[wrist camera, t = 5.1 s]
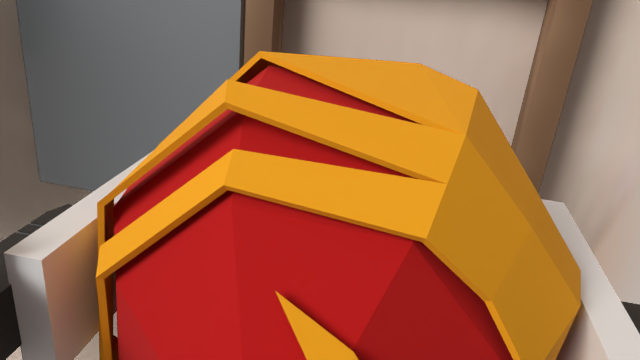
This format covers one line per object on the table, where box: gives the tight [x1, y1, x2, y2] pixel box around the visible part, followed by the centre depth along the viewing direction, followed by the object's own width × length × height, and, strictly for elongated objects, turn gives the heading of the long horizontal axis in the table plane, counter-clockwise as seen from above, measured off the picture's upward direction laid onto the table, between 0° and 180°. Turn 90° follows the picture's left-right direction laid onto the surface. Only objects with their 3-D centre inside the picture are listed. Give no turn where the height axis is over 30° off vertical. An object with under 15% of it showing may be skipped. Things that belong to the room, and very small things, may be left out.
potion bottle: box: [96, 51, 581, 360], centre depth 11 cm, size 10×10×15 cm
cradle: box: [244, 0, 593, 193], centre depth 28 cm, size 16×16×2 cm
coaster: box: [16, 0, 245, 191], centre depth 32 cm, size 14×14×1 cm
